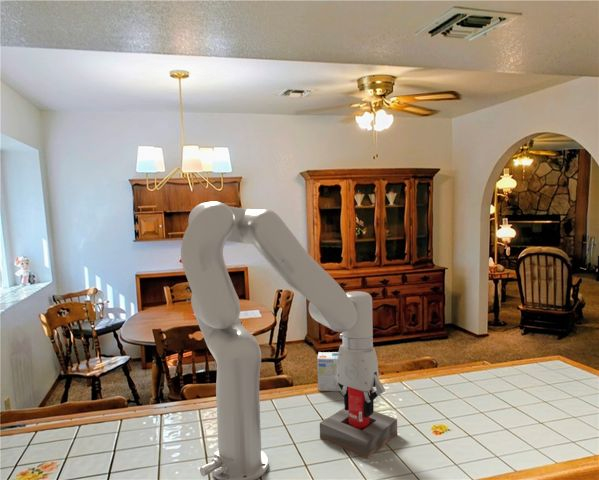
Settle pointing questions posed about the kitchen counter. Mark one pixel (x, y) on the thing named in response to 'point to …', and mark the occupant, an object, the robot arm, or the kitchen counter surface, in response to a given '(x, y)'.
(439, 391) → the kitchen counter surface
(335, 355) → the light bulb box
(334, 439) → the socket block
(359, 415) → the beverage can
